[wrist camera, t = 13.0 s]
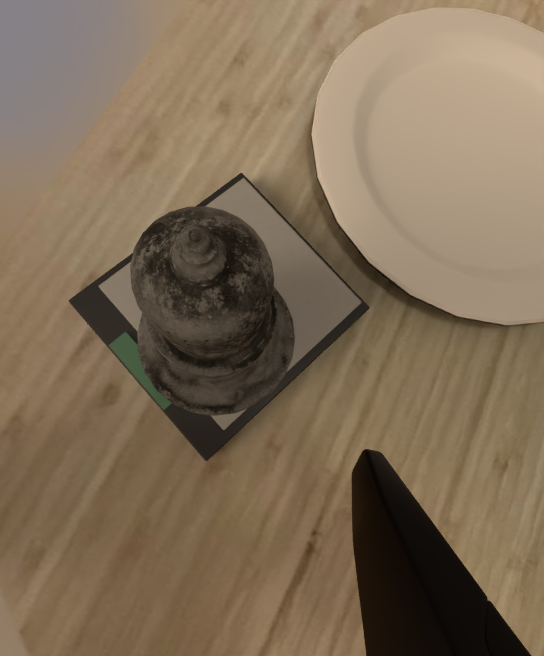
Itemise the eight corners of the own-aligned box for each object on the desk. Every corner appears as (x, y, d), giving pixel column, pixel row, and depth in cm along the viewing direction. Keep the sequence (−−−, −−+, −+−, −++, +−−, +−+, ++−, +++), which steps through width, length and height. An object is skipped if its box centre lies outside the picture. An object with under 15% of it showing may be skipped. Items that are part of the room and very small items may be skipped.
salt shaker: (216, 441, 16) (175, 538, 5) (130, 346, 17) (-113, 214, 5) (307, 351, 18) (456, 248, 6) (224, 265, 18) (208, 9, 6)
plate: (680, 185, 24) (713, 169, 22) (495, 408, 20) (520, 409, 18) (452, -18, 26) (467, -48, 24) (233, 145, 21) (233, 123, 20)
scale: (207, 457, 18) (205, 463, 16) (78, 307, 18) (63, 298, 17) (362, 313, 20) (373, 305, 18) (241, 185, 21) (241, 167, 19)
